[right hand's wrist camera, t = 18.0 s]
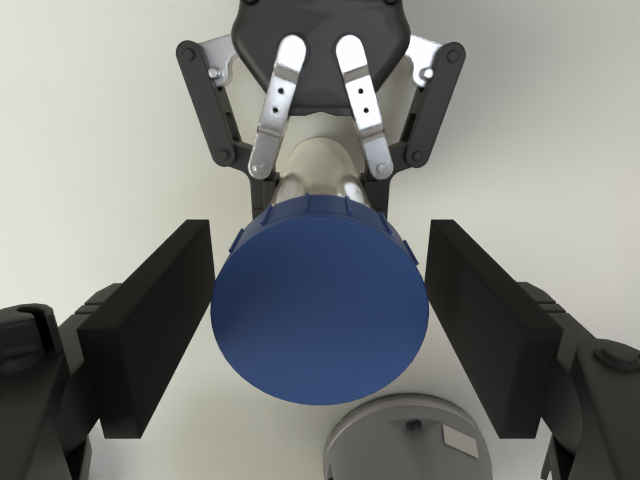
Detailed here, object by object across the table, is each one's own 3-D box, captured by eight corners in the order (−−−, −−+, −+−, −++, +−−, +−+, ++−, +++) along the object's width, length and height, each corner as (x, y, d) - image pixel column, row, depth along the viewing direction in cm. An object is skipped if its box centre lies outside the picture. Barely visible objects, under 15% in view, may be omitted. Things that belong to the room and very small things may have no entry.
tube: (304, 212, 29) (282, 396, 12) (275, 154, 28) (200, 269, 10) (363, 186, 28) (430, 341, 11) (336, 125, 27) (365, 194, 10)
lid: (430, 332, 13) (450, 377, 11) (266, 376, 13) (257, 426, 11) (385, 165, 11) (400, 183, 9) (196, 227, 11) (170, 256, 9)
